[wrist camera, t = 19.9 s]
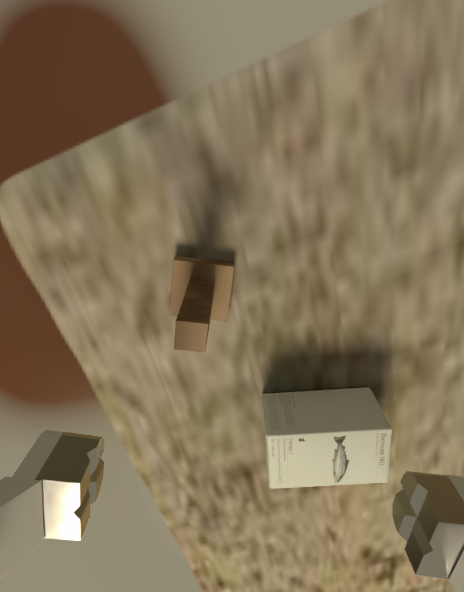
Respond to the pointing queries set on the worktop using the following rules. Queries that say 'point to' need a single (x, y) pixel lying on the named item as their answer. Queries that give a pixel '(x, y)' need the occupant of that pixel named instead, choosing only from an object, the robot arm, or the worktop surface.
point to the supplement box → (325, 438)
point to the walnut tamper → (199, 299)
